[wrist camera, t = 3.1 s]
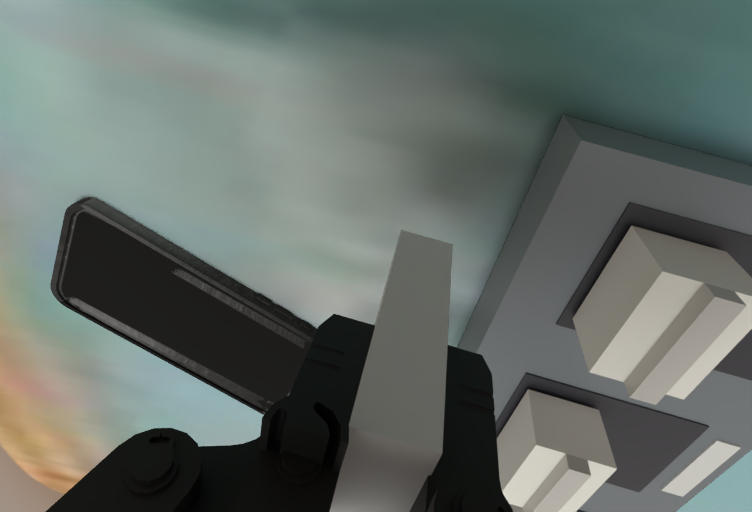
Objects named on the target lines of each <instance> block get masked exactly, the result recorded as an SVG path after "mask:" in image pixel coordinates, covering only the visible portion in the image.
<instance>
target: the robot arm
mask: <svg viewBox="0 0 752 512" xmlns="http://www.w3.org/2000/svg"><path fill="white" fill-rule="evenodd" d="M451 265H452V244H449V243H446V242H442V241H439V240H435V239H431V238H428V237H424V236H421V235H417V234H413V233H410V232H406V231H403V230H401V233H400V236H399V240H398V243H397V247H396V250H395V254H394V257H393V261H392V264H391V267H390V271H389V274H388V278H387V281H386V285H385V288H384V292H383V295H382V299H381V302H380V306H379V310H378V313H377V317H376V321H375V324H374V325H371V324H368V323H364V322H361V321H357V320H354V319H350V318H347V317H343V316H340V315H336V314H333V315H332V316H331V317H330V318H328V319H327V320H326V321H325V322H323V323H322V324H321V325H320V326H319V327H318V330H317V332H316V334H315V336H314V339H313V341H312V344H311V346H310V348H309V350H308V353H307V355H306V357H305V360H304V362H303V364H302V366H301V369H300V371H299V373H298V375H297V378H296V380H295V382H294V385H293V387H292V389H291V391H290V394H289V396H285V397H284V398H282V399H281V400H279V401H277V402H276V403H274V404H272V405H271V407H270V408H269V409H268V411H267V412H266V413H265V415H264V416H263V417H262V426H261V435H260V437H259V438H257V439H255V440H252V441H250V442H247V443H244V444H238V445H231V446H202V447H198V444H197V443H196V442H195V441H194V440H193V439H192V438H191V437H190V436H189V435H188V434H187V433H185V432H182V431H179V430H176V429H173V428H154V429H151V430H148V431H145V432H142V433H139V434H136V435H134V436H132V437H131V438H130V439H128V440H127V441H125V442H124V443H122V444H121V445H119V446H118V447H117V448H116V449H114V450H113V451H112V452H111V453H110V454H109V455H108V456H107V457H106V458H105V459H103V460H102V461H101V462H100V463H99V464H98V465H97V466H96V467H95V468H93V469H92V470H91V471H90V472H89V473H88V474H87V475H86V476H85V477H83V478H82V479H81V480H80V481H79V482H78V483H77V484H76V485H75V486H74V487H72V488H71V489H70V490H69V491H68V492H67V493H66V494H65V495H64V496H62V498H60V499H59V500H58V501H57V502H56V503H55V504H54V505H53V506H51V507H50V508H49V509H48V510H47V511H46V512H513V510H512V508H511V506H510V504H509V503H508V501H507V500H506V498H505V496H504V495H503V492H502V489H501V484H500V478H499V464H498V450H497V436H496V422H495V415H494V411H495V408H494V398H493V380H492V373H491V371H490V369H489V367H488V365H487V364H486V362H485V360H484V358H483V356H482V355H480V354H477V353H473V352H470V351H467V350H463V349H460V348H456V347H453V346H449V345H448V327H449V306H450V285H451Z"/></svg>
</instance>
